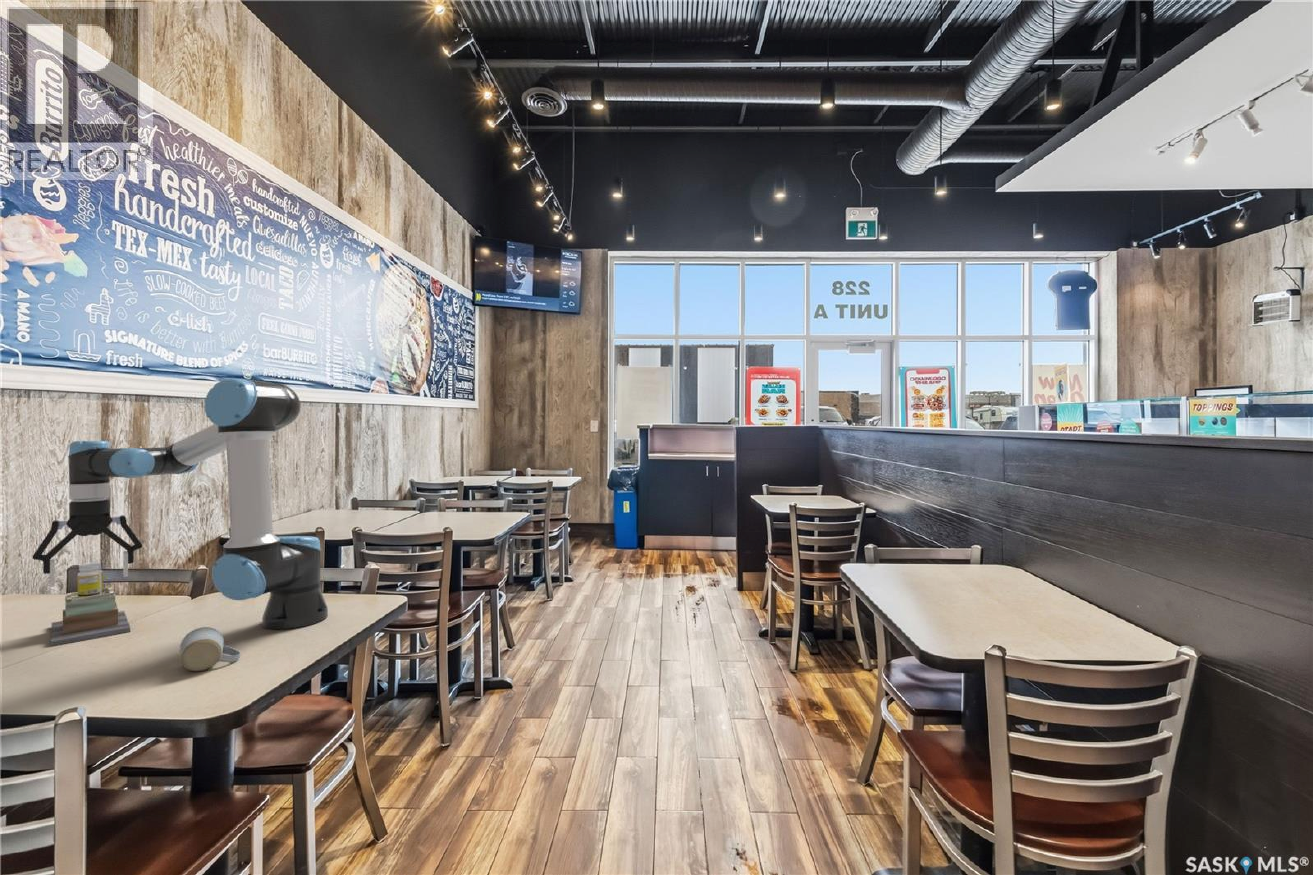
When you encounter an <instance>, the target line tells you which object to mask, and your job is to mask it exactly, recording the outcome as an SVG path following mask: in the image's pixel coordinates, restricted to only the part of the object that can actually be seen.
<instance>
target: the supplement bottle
mask: <svg viewBox="0 0 1313 875" xmlns="http://www.w3.org/2000/svg"><path fill="white" fill-rule="evenodd" d="M101 564H102V563H101V562H88V563H87V562H86V563H82V564H79V566H78V571H79V572H78V573H77V578H76V579H77V592H78V598H79V597H86V596H93V595H100V594H103V588H104V571H103V570H102V568H101V566H102V565H101Z"/></svg>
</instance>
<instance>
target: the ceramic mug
mask: <svg viewBox="0 0 1313 875" xmlns="http://www.w3.org/2000/svg"><path fill="white" fill-rule="evenodd" d="M224 642H225V641H224V636H223V634H222V632H220V631H219V630H218V629H216V628H214V627H209V626H207V627H206V626H203V627H199V628H195V629H193V630H191V631H189V632H188V633H186V635H185V636H184V637H183V638H182V641H181V642H180V646H179V660H180V664H181V665H182V667H184V669H186V670H188V671H192V672H202V671H203V672H204V671H206V670H208V669H210V668H212V667H213V666H215V665H216V664H217V663H218V662H222V663H235V662H237V661H238V660H239V658H240V657H241V655H242V652H241V651H240V650H239V649H237V648H235V647H232V646H228V645H224Z"/></svg>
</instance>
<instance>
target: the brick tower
mask: <svg viewBox="0 0 1313 875" xmlns="http://www.w3.org/2000/svg"><path fill="white" fill-rule="evenodd" d="M65 594H66V596H65V603H64V604H65V605H64V606H65V607H64V608H65V609H62V620H61V621H60V620H59V621H54V622H51V630H50V631H51V632H50V636H51V638H50V643H51V644H50V645H51V646H50V647H56V646H61V645H66V644H71V643H77V642H76V641H78V642H82V641H88V640H89V641H90V640H94V639H98V638H103V637H102V636H105V637H110V636H115V634H116V635H120V634H119V633H121V634H125V633H124V632H126V633H130V632H131V625H130V623H129V621H128V618H127V615H126V612H125V610H121V611H119V608H118V605H117V603H116V602H117V601H116V595H115V591H114V588H113V586H110V587H103V594H100V595H93V596H86V597H79V598H78V591H75V592H74V591H73V592H66V593H65Z"/></svg>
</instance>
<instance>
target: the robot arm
mask: <svg viewBox="0 0 1313 875" xmlns="http://www.w3.org/2000/svg"><path fill="white" fill-rule="evenodd" d="M300 411H301V401H300V397H299V395H298V394H297V393H296V392H295V391H294V389H292V388H291V387H289V386H287V385H285V384H283V383H280V382H273V381H271V382H270V381H263V380H256V379H249V378H226V379H225V378H224V379H223V380H220V381H218V382H216V383H215V384H214V385H213V387H212V388H209V390H208V392H207V394H206V397H205V399H204V413H205V415H206V417H207V418H209V421H210V422H211V423H212V425H210V426H207V427H205V428H203V429H201V430H199V431H197V432H195V433H192V434H191V435H189V436H187V437H185V438H183V439H180V440H178V441H177V442H175V443H172V444H170V445H167V446H165V447H164V446H163V447H125V448H124V447H123V448H111V447H110V442H109V441H107V440H75V441H72V442H71V443H70V444H69V451H68V452H69V454H68V455H67V457H68V475H69V476H68V481H69V484H68V490H69V491H68V495H69V496H68V499H69V500H72V501H70V502H69V504H68V507H69V508H68V509H69V510H68V511H69V512H68V513H69V516H68V517H69V518H68V520H57V519H55V520H53V521H51V527H50V530H49V531H48V533H47V534H46V536H45V537H44V538H43V540H42V542H40V544H39V546H38V547H37V549H36V550H35V552H34V554H33V555H32V559H33V560H35V561H42V564H43V565H42V566H43V567H42V570H43V571H42V572H43V574H44V575H46V574H49V587H50V588H53V587H55V586H56V585H55V582H56V581H55V580H56V579H55V559H54V558H53V557H54V556H55V555H57V554H58V553H59V552H60V551H61V550H62V549H63V548H64V547H65V546H66V545H67V544H69V543H70V542H71V541H72V540H73V539H74V538H75V537H77V536H80V537H87V536H99V535H101V534H102V533H103V534H104V535H106V536H107V537H108V538H110V539H111V540H113V541H114V542H115V543H116V544H118V545H119V546H121V547H122V548H124V549H125V551H123V555H122V556H123V557H122V558H123V560H122V561H123V566H122V567H123V571H122V572H123V577H124V578H127V577H129V564H134V562H135V559H134V556H135V551H136V550H139V549H142V548H143V546H144V545H143V543H141V541H140V540H139V539H138V537H137V536H136V534H135V533H134V532H133V530H132V529H131V527H130V526H129V524H128V523H127V518H126V515H124V514H121V515H119V516H114V517H111V513H110V512H111V510H110V509H111V506H110V505H111V502H110V501H111V500H109V499H108V498H110V492H111V488H110V487H111V485H110V484H111V481H110V480H111V479H110V478H125V479H131V478H132V479H133V478H134V479H135V478H140V477H141V478H143V477H148V476H160V475H161V476H162V475H182V474H185V473H191V472H193V471H195V470H196V468H197V467H198V466H199V465H200V464H199V463H201V462H203V461H205V460H208V459H209V458H213V457H214V456H216V455H218V454H220V453H222V452H225V451H226V457H227V458H226V461H227V482H228V483H227V486H228V487H227V488H228V505H229V506H228V507H229V527H230V528H229V529H230V532H229V533H230V538H229V539H228V540H227V541H226V542H225V543H224V544H223V548H222V549H223V556H221V557H220V558H218V559H217V560H216V561H215V563H214V564H213V566H212V569H211V578H212V582H213V585H214V586H215V588H216V590H217V591H218V592H219V593H221V594H222V596H224V597H225V598H227V599H229V600H233V601H245V600H248V599H256V598H258V597H261V596H262V595H266V594H267V593H269V598H268V601H267V603H266V606H265V609H264V612H263V614H262V618H261V620H262V621H261V622H262V625H261V626H262V627H263V628H265V629H269V630H287V629H295V628H296V629H297V628H301V627H306V626H310V625H314V624H317V623H319V622H322V621H324V620H325V619H327V618H328V616H329V614H328V612H329V609H328V605H327V603H326V601H325V600H326V599H325V598H324V594H323V591H322V590H321V552H322V549H321V541H320V539H319V538H318V537H316V536H308V535H307V536H306V535H295V536H294V535H291V536H287V535H285V536H284V535H283V536H277V535H276V534H274V531H273V529H274V528H273V509H272V507H273V506H272V489H271V488H272V485H271V464H270V444H269V443H270V442H269V440H270V439H271V438H272V436H274V435H275V434H276V432H277V431H278V430H281V429H283V428H285V427H287V426H289V425H290V424H292V423H294V422H295V420H297V418H298V416H299V414H300ZM113 522H114V523H115V524H116V525H120V527H121V529H123V530H124V532H125V534H127V536H128V538H129V539H130V540H131V542H132V543H133V545H131V544H130V543H128V542H127V541H126V540H124V539H123V538H121V537H120V536H119V535H117V534H116V533H115V532H114V531H113V530H111V529H110V528H108V527H109V526H110V525H111V524H112V523H113ZM65 526H67V527H68V528H69V529H70V530H71V531H70V532H69V533H68V534H66V535H65V536H64V537H63V538H62V539H61V540H60V541H59V542H58V543H57V544H56V545H55V546H54V547H53V548H52V549H50V550H49V551H48V552H47V553H46V554H44V552H45V550H46V549H47V547H48V546H49V545H50V543H51V541H52V540H53V538H54V537H55V536H56V534H57V533H58V531H59V530H62V529H64V528H63V527H65ZM52 558H53V559H52Z"/></svg>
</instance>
